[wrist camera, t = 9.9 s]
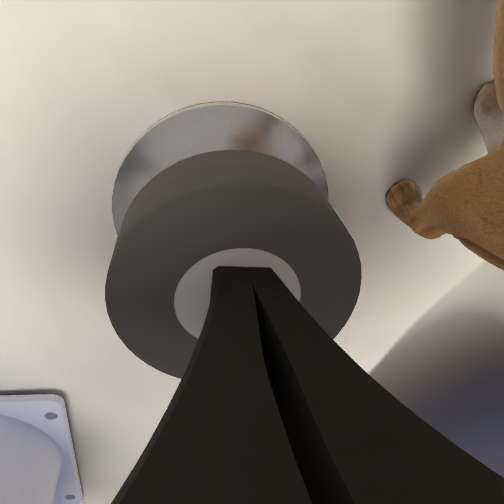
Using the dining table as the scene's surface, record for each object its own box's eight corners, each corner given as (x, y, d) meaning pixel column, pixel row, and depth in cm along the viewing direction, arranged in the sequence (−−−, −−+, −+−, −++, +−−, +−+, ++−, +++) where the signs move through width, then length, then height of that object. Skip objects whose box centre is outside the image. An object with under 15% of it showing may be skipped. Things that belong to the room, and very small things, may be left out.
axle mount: (301, 293, 16) (316, 333, 14) (119, 290, 14) (109, 333, 12) (348, 115, 12) (378, 137, 10) (107, 87, 10) (90, 107, 9)
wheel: (309, 331, 13) (327, 382, 11) (123, 331, 12) (112, 387, 10) (360, 160, 10) (396, 194, 8) (112, 137, 9) (94, 172, 7)
